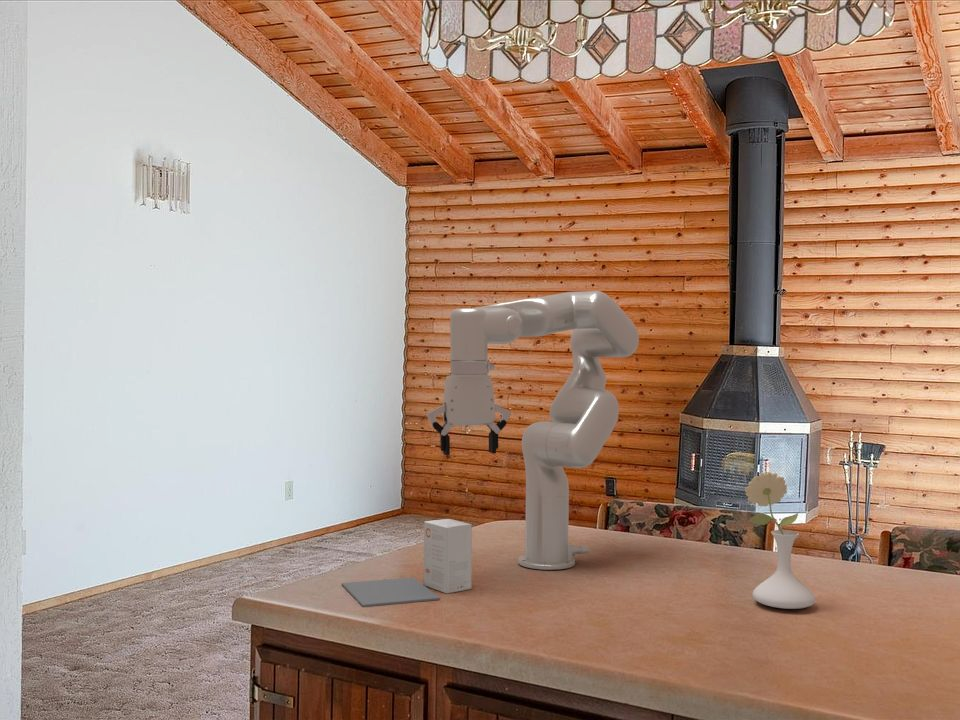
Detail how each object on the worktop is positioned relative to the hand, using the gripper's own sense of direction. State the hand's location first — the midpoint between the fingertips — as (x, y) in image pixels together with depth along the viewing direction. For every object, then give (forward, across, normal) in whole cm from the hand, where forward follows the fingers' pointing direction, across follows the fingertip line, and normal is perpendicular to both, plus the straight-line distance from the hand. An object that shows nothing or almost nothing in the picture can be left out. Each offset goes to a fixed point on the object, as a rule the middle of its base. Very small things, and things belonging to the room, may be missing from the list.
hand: (469, 453), depth 192 cm
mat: (+26, +17, +4) cm, 31 cm away
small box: (+26, +5, +2) cm, 27 cm away
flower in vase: (+27, -53, +29) cm, 66 cm away
